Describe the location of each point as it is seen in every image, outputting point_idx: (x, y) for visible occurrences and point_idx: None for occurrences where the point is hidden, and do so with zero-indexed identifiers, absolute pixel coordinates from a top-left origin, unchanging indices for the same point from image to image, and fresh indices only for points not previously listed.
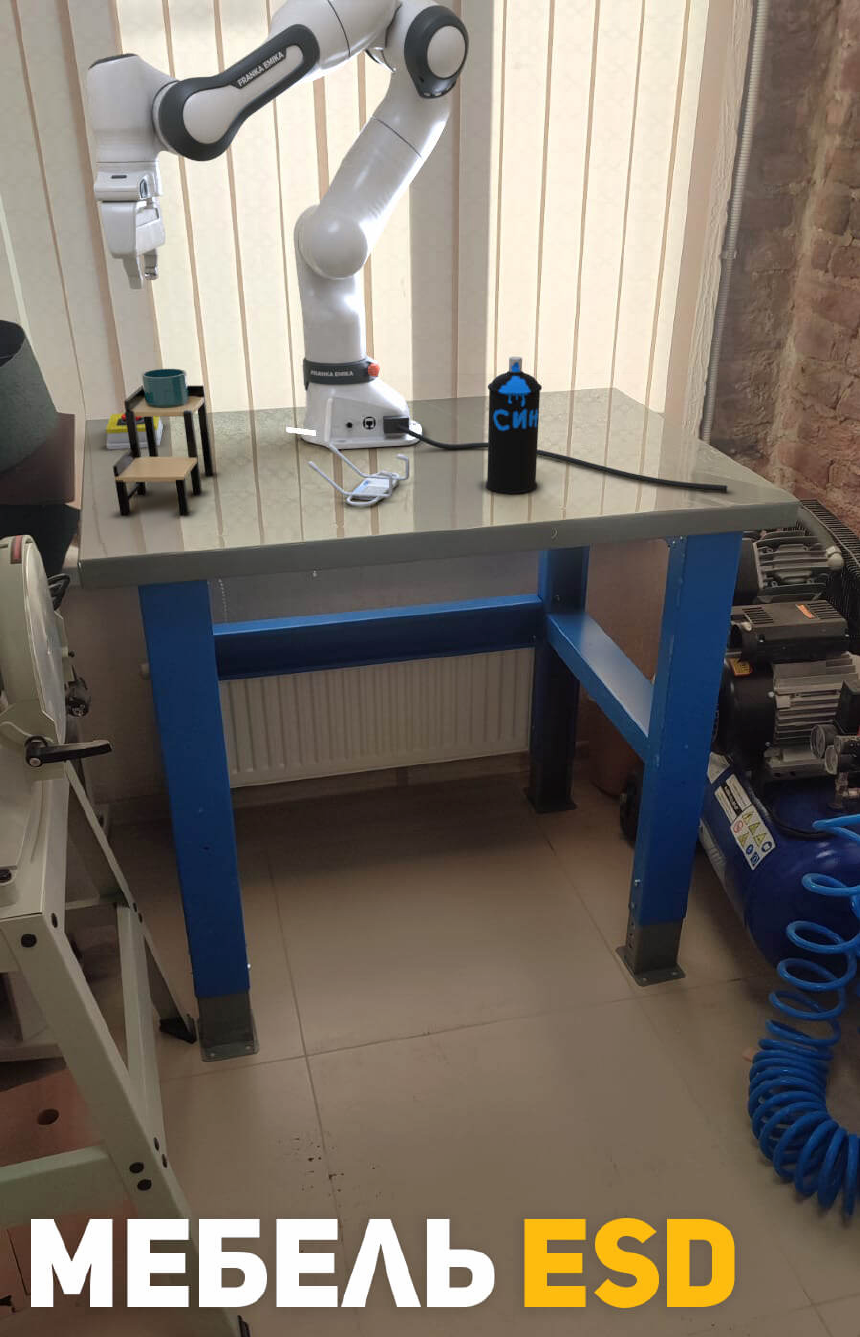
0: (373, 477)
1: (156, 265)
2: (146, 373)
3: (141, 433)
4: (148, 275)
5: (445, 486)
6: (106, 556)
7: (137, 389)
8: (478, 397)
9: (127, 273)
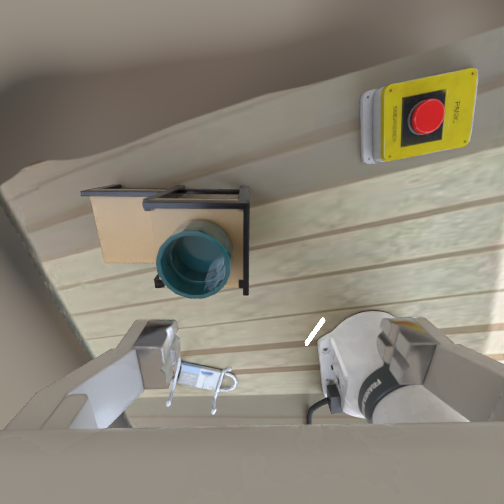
0: (220, 377)
1: (433, 392)
2: (199, 235)
3: (379, 140)
4: (390, 336)
5: (216, 412)
6: (9, 200)
7: (221, 203)
8: None
9: (93, 362)
